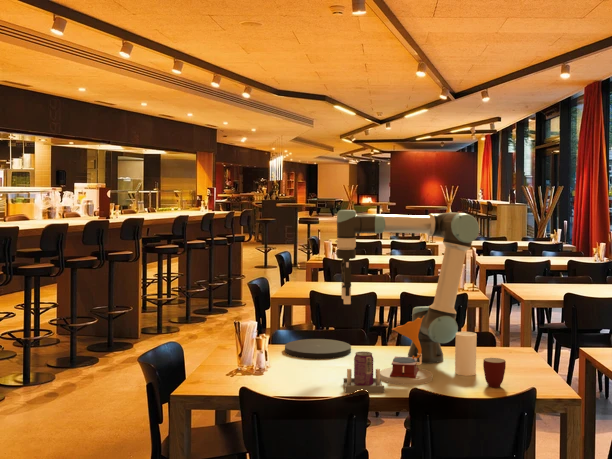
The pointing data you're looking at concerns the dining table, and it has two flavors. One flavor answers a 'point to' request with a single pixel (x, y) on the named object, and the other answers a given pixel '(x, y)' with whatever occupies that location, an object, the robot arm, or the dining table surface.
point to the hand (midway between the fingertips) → (346, 301)
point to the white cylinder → (465, 353)
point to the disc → (317, 348)
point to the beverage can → (363, 369)
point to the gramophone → (407, 360)
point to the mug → (494, 371)
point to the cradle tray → (373, 388)
